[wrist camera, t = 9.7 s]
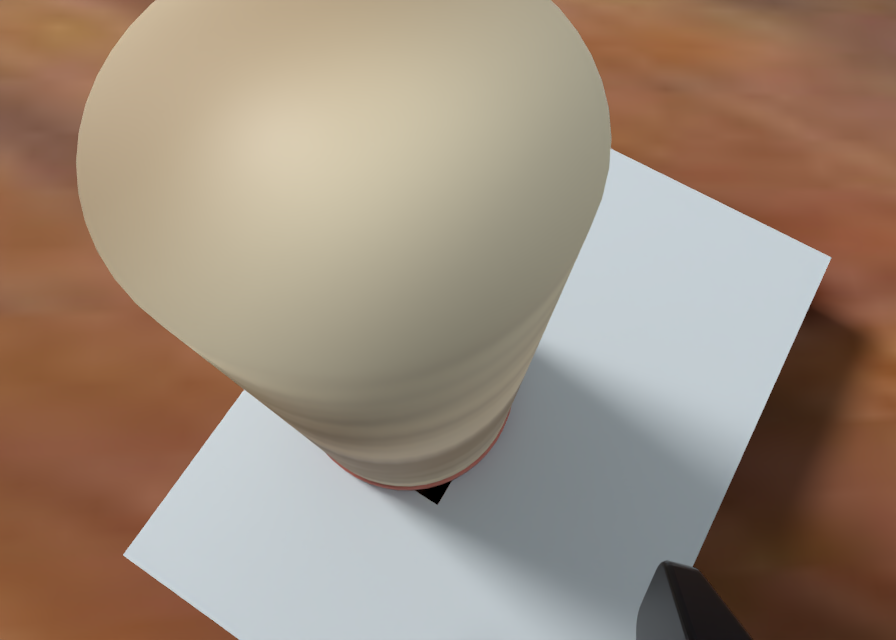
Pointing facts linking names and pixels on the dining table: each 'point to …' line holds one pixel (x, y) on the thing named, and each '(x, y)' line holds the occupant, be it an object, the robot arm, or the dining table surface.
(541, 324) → the maple leg
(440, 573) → the grey board
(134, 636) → the dining table surface
